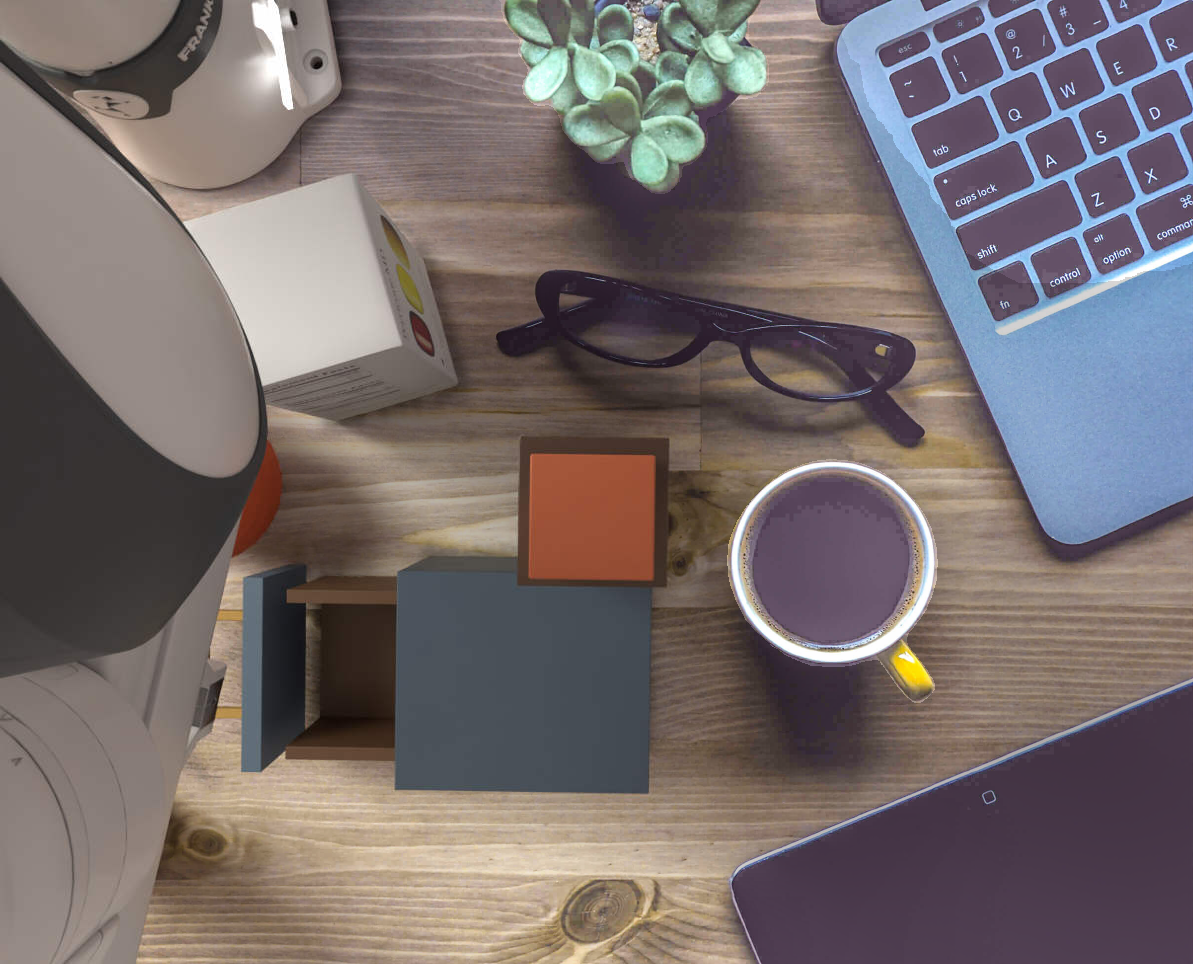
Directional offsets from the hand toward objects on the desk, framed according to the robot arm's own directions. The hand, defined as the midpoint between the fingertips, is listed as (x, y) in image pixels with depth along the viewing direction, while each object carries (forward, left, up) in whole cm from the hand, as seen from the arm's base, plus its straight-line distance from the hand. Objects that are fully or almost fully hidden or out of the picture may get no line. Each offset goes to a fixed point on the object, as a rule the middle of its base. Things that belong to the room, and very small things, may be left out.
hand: (202, 691), depth 38 cm
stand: (-8, +16, -23) cm, 29 cm away
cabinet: (+3, +12, -23) cm, 26 cm away
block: (-8, +16, +2) cm, 18 cm away
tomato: (-8, -9, -23) cm, 26 cm away
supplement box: (-18, +1, -23) cm, 30 cm away
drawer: (+3, 0, -22) cm, 22 cm away
